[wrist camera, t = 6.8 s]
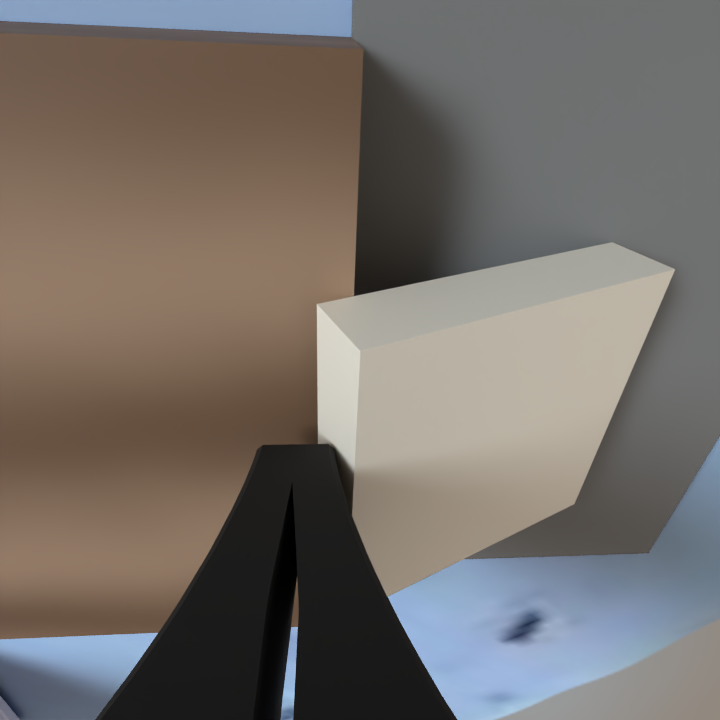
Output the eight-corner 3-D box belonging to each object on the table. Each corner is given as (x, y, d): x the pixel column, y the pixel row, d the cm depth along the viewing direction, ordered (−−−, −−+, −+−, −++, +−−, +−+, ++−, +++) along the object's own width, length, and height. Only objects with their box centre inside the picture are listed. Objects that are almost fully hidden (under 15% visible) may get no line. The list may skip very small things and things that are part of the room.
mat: (642, 543, 18) (648, 553, 18) (337, 552, 17) (337, 563, 17) (960, 0, 9) (984, -1, 9) (353, -35, 8) (354, -37, 8)
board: (338, 534, 17) (341, 624, 14) (-43, 545, 16) (-109, 643, 14) (351, 37, 9) (363, 48, 6) (-410, 1, 8) (-735, 0, 6)
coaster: (535, 467, 15) (574, 503, 14) (319, 561, 12) (346, 616, 11) (612, 241, 11) (674, 268, 10) (317, 304, 8) (360, 351, 7)
